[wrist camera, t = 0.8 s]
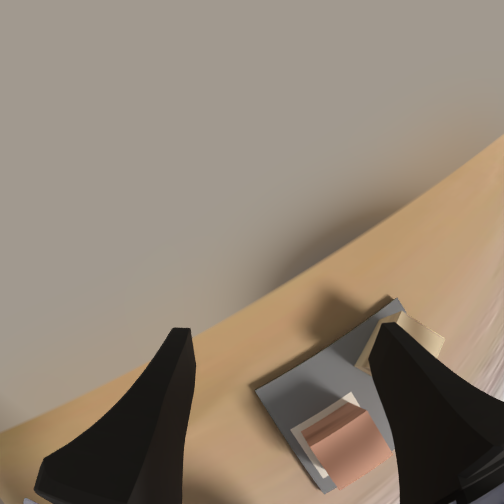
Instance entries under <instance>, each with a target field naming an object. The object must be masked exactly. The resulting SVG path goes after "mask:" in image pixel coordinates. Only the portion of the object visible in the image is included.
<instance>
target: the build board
mask: <svg viewBox="0 0 504 504" xmlns="http://www.w3.org/2000/svg"><path fill="white" fill-rule="evenodd" d="M400 311H403V312H405V313H406V311H405V309H404V308H403V306H402V305H401V303H400V301H399V300H398V298H395V299H394V300H392V301H391V302H390V303H388V304H387V305H386V306H384V307H383V308H382V309H380V310H379V311H378V312H376V313H375V314H374V315H372V316H371V317H370V318H368V319H367V320H366V321H364V322H363V323H361V324H360V325H359V326H357V327H356V328H354V329H353V330H351V331H350V332H348V333H347V334H346V335H344V336H343V337H341V338H340V339H338V340H337V341H335V342H334V343H332V344H331V345H329V346H328V347H326V348H325V349H323V350H321V351H320V352H318V353H317V354H315V355H314V356H312V357H310V358H309V359H307V360H306V361H304V362H302V363H301V364H299V365H297V366H296V367H294V368H292V369H291V370H289V371H287V372H286V373H284V374H282V375H281V376H279V377H277V378H275V379H274V380H272V381H270V382H268V383H267V384H265V385H263V386H261V387H259V388H258V389H256V390H255V392H256V393H257V395H258V397H259V398H260V400H261V402H262V403H263V405H264V406H265V408H266V410H267V411H268V413H269V414H270V416H271V417H272V419H273V421H274V422H275V424H276V425H277V427H278V428H279V430H280V431H281V433H282V434H283V436H284V437H285V439H286V440H287V442H288V443H289V445H290V446H291V448H292V449H293V451H294V452H295V454H296V455H297V457H298V458H299V460H300V461H301V463H302V464H303V466H304V467H305V468H306V470H307V471H308V473H309V474H310V475H311V477H312V478H313V480H314V481H315V482H316V484H317V485H318V487H319V488H320V489H321V491H322V492H323V493H324V494H326V493H328V492H329V491H331V490H333V489H335V488H337V486H336V485H335V483H334V482H333V480H332V479H331V478H330V476H329V475H328V473H327V472H326V470H325V469H324V468H323V466H322V465H321V463H320V462H319V460H318V459H317V457H316V456H315V454H314V453H313V451H312V450H311V448H310V447H309V445H308V443H307V442H306V440H305V438H304V436H303V435H302V433H301V431H303V430H304V429H306V428H308V427H310V426H311V425H313V424H315V423H316V422H318V421H320V420H321V419H323V418H324V417H326V416H328V415H329V414H331V413H332V412H334V411H335V410H337V409H338V408H340V407H341V406H343V405H344V404H346V403H347V402H350V403H352V404H354V405H356V406H358V407H361V408H363V409H365V410H367V411H368V413H369V415H370V416H371V418H372V420H373V421H374V423H375V425H376V426H377V428H378V430H379V431H380V433H381V435H382V436H383V438H384V440H385V441H386V443H387V445H388V446H389V448H390V450H391V451H392V450H394V449H395V447H394V442H393V437H392V432H391V429H390V426H389V422H388V420H387V417H386V414H385V411H384V409H383V406H382V403H381V401H380V398H379V395H378V393H377V390H376V387H375V384H374V382H373V378H372V376H370V375H368V374H367V373H365V372H363V371H361V370H360V369H358V368H356V367H354V366H355V364H356V362H357V360H358V359H359V357H360V355H361V353H362V351H363V349H364V348H365V346H366V344H367V342H368V340H369V338H370V336H371V334H372V333H373V331H374V329H375V327H376V325H377V323H378V321H379V319H382V318H385V317H387V316H390V315H393V314H395V313H398V312H400ZM406 314H407V313H406Z"/></svg>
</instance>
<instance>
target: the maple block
mask: <svg viewBox="0 0 504 504" xmlns="http://www.w3.org/2000/svg"><path fill="white" fill-rule="evenodd" d="M388 322H396V323H397V324H398V325H399V326H401V327H402V328H403V329H404V330H405V331H406V332H407V333H409V334H410V335H411V336H412V337H413V338H414V339H415V340H416V341H417V342H419V343H420V344H421V345H422V346H423V347H424V348H425V349H426V350H427V351H429V352H430V353H431V354H432V355H433V356H434V357H435V358H437V357H438V355H439V352H440V350H441V348H442V345H443V343H444V340H445V338H444V337H442V336H440V335H439V334H437V333H436V332H434V331H433V330H431V329H430V328H428V327H427V326H425V325H423V324H422V323H420V322H419V321H417V320H416V319H414V318H412V317H411V316H409V315H408V314H406V313H405V312H403V311H400V312H398V313H395V314H393V315H390V316H387V317H385V318H382V319H379V321H378V323H377V325H376V327H375V329H374V331H373V333H372V334H371V336H370V338H369V340H368V342H367V344H366V346H365V348H364V349H363V351H362V353H361V355H360V357H359V359H358V360H357V362H356V364H355V366H354V367H356V368H358V369H360V370H361V371H363V372H365V373H367V374H368V375H370V376H372V374H371V370H370V365H369V361H368V357H369V355H370V353H371V350H372V347H373V345H374V342H375V340H376V337H377V335H378V332H379V329H380V326H381V324H382V323H388Z"/></svg>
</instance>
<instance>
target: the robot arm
mask: <svg viewBox="0 0 504 504" xmlns="http://www.w3.org/2000/svg"><path fill="white" fill-rule="evenodd" d="M368 361H369V365H370V370H371V374H372V378H373V382H374V384H375V387H376V390H377V393H378V395H379V398H380V401H381V403H382V406H383V409H384V411H385V414H386V417H387V420H388V422H389V426H390V429H391V432H392V437H393V442H394V447H395V452H396V458H397V465H398V474H399V485H400V504H504V402H503V401H500V400H498V399H496V398H494V397H492V396H490V395H488V394H486V393H485V392H483V391H481V390H479V389H478V388H476V387H474V386H473V385H471V384H470V383H468V382H467V381H465V380H464V379H462V378H461V377H459V376H458V375H457V374H455V373H454V372H453V371H451V370H450V369H449V368H448V367H446V366H445V365H444V364H443V363H441V362H440V361H439V360H438V359H437V358H435V357H434V356H433V355H432V354H431V353H430V352H429V351H427V350H426V349H425V348H424V347H423V346H422V345H421V344H420V343H419V342H417V341H416V340H415V339H414V338H413V337H412V336H411V335H410V334H409V333H407V332H406V331H405V330H404V329H403V328H402V327H401V326H399V325H398V324H397V323H396V322H388V323H382V324H381V326H380V329H379V332H378V335H377V337H376V340H375V342H374V345H373V347H372V350H371V353H370V355H369V357H368ZM195 374H196V361H195V355H194V349H193V343H192V336H191V329H190V328H173V329H172V330H171V331H170V333H169V334H168V336H167V338H166V339H165V341H164V343H163V344H162V346H161V347H160V349H159V350H158V352H157V353H156V355H155V356H154V358H153V359H152V360H151V362H150V363H149V365H148V366H147V367H146V369H145V370H144V371H143V373H142V374H141V375H140V377H139V378H138V379H137V380H136V382H135V383H134V384H133V385H132V386H131V388H130V389H129V390H128V391H127V392H126V393H125V395H124V396H123V397H122V398H121V399H120V400H119V401H118V402H117V403H116V404H115V405H114V406H113V407H112V408H111V409H110V410H109V411H108V412H107V413H106V414H105V415H104V416H103V417H102V418H101V419H99V420H98V421H97V422H96V423H95V424H94V425H92V426H91V427H90V428H89V429H87V430H86V431H85V432H83V433H82V434H81V435H79V436H78V437H77V438H75V439H74V440H73V441H71V442H70V443H68V444H67V445H65V446H64V447H62V448H60V449H59V450H57V451H55V452H54V453H52V454H50V455H48V456H47V457H45V458H44V459H43V462H42V464H41V466H40V469H39V473H38V476H37V480H36V483H35V487H34V491H35V493H37V494H38V495H39V496H41V497H43V498H44V499H46V500H48V501H49V502H51V503H53V504H182V476H183V455H184V444H185V436H186V431H187V426H188V420H189V415H190V410H191V404H192V399H193V394H194V387H195ZM23 504H38V503H36V502H34V501H32V500H30V499H28V498H24V502H23Z"/></svg>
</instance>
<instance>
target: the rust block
mask: <svg viewBox="0 0 504 504" xmlns="http://www.w3.org/2000/svg"><path fill="white" fill-rule="evenodd" d="M301 433H302V435H303V436H304V438H305V440H306V442H307V443H308V445H309V447H310V448H311V450H312V451H313V453H314V454H315V456H316V457H317V459H318V460H319V462H320V463H321V465H322V466H323V468H324V469H325V470H326V472H327V473H328V475H329V476H330V478H331V479H332V480H333V482H334V483H335V485H336V486H337V488H338V489H339V490H341V489H343V488H344V487H346V486H348V485H349V484H351V483H353V482H354V481H356V480H357V479H359V478H360V477H362V476H364V475H365V474H367V473H368V472H370V471H371V470H373V469H374V468H375V467H377V466H378V465H380V464H381V463H383V462H384V461H385V460H387V459H388V458H389V457H391V456H392V455H393V453H392V452H391V450H390V448H389V446H388V445H387V443H386V441H385V440H384V438H383V436H382V435H381V433H380V431H379V430H378V428H377V426H376V425H375V423H374V421H373V420H372V418H371V416H370V415H369V413H368V411H367V410H365V409H363V408H361V407H358V406H356V405H354V404H352V403H350V402H347V403H346V404H344V405H343V406H341V407H340V408H338V409H337V410H335V411H334V412H332V413H331V414H329V415H328V416H326V417H324V418H323V419H321V420H320V421H318V422H316V423H315V424H313V425H311V426H310V427H308V428H306V429H304V430H303V431H301Z"/></svg>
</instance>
